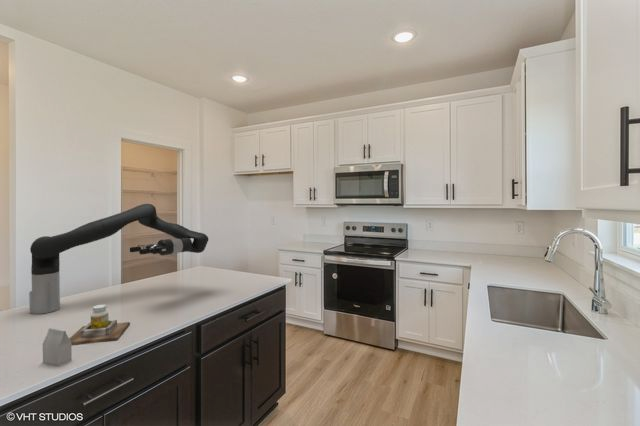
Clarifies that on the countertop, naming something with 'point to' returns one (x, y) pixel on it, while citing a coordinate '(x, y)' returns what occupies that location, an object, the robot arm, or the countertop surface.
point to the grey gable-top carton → (56, 347)
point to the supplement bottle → (99, 317)
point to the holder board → (99, 333)
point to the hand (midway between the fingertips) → (134, 251)
